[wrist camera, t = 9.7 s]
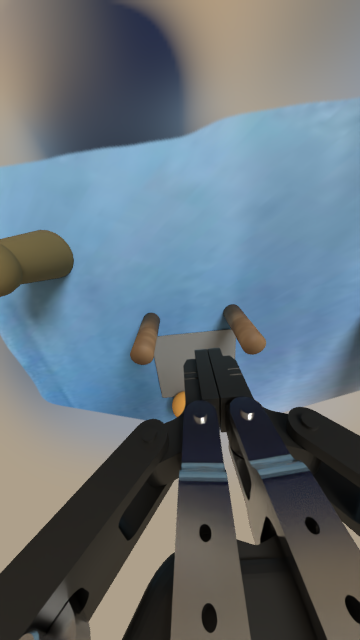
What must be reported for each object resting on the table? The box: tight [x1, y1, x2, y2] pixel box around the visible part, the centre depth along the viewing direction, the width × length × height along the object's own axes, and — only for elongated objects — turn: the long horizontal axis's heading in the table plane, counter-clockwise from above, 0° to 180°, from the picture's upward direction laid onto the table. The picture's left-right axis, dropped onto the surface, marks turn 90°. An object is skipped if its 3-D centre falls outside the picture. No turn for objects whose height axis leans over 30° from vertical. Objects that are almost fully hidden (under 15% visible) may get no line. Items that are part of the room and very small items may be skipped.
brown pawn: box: [0, 230, 74, 297], centre depth 19 cm, size 6×6×11 cm
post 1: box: [130, 313, 160, 365], centre depth 25 cm, size 3×3×9 cm
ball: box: [172, 391, 185, 417], centre depth 34 cm, size 5×5×5 cm
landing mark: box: [154, 329, 236, 398], centre depth 33 cm, size 14×14×1 cm
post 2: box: [224, 304, 266, 354], centre depth 24 cm, size 3×3×9 cm
